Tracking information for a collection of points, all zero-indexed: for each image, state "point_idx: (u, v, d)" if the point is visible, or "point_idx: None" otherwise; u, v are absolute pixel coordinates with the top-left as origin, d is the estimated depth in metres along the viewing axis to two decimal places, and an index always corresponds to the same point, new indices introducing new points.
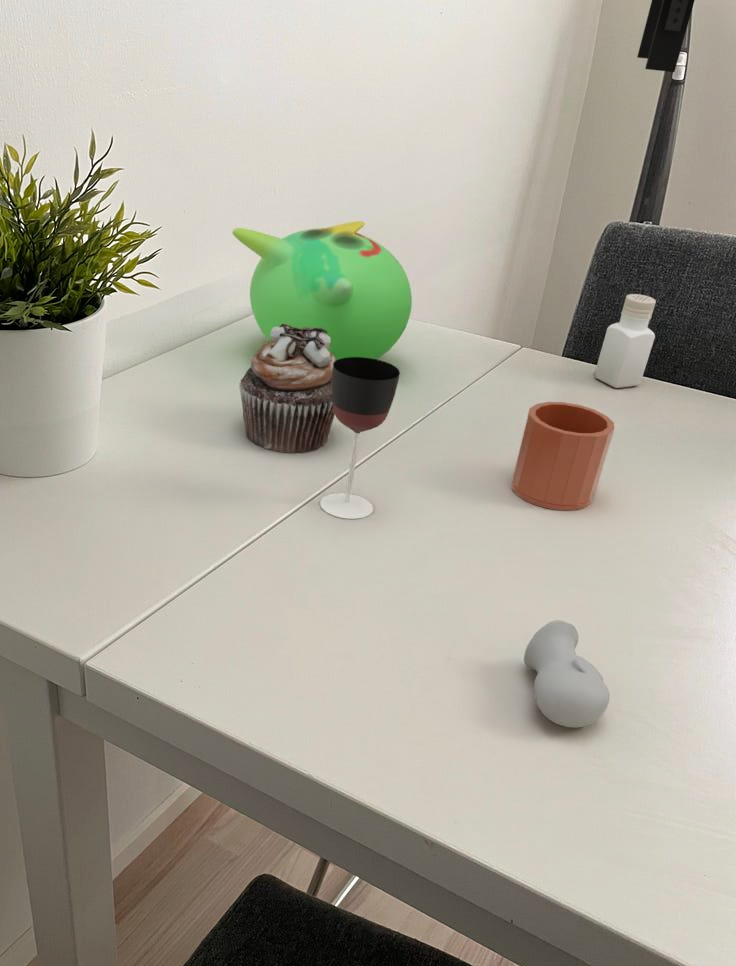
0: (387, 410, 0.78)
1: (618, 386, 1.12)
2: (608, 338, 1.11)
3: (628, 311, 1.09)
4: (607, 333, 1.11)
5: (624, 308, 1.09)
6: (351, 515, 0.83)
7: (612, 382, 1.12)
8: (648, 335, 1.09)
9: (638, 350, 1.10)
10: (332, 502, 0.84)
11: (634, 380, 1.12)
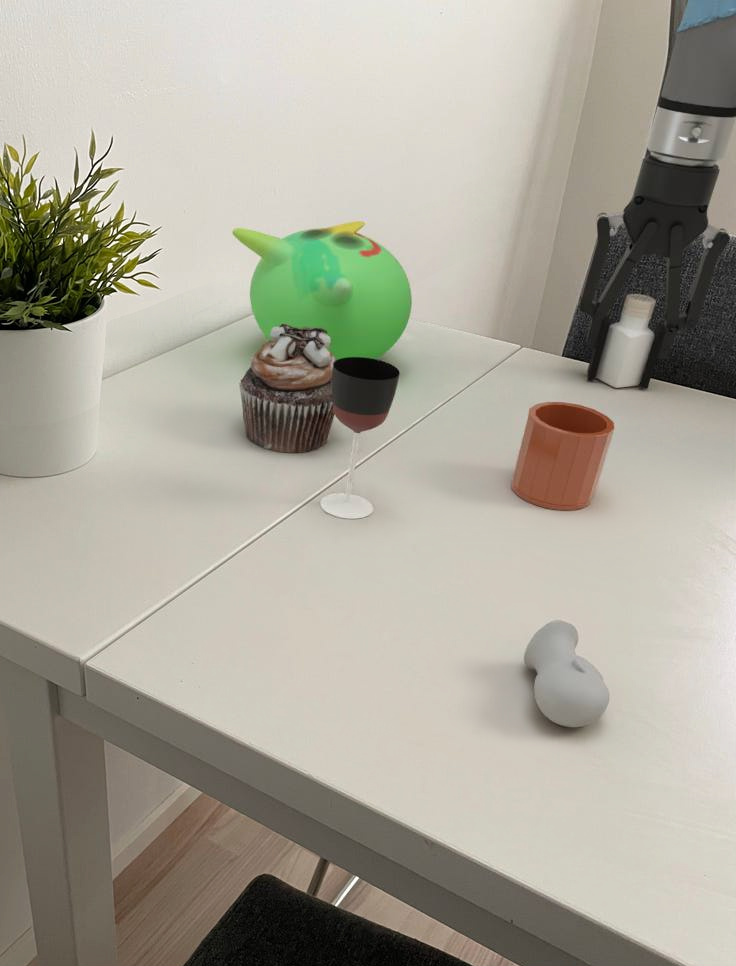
0: (387, 410, 0.78)
1: (618, 386, 1.12)
2: (608, 338, 1.11)
3: (628, 311, 1.09)
4: None
5: (624, 308, 1.09)
6: (351, 515, 0.83)
7: (612, 382, 1.12)
8: (648, 335, 1.09)
9: (638, 350, 1.10)
10: (332, 502, 0.84)
11: (634, 380, 1.12)
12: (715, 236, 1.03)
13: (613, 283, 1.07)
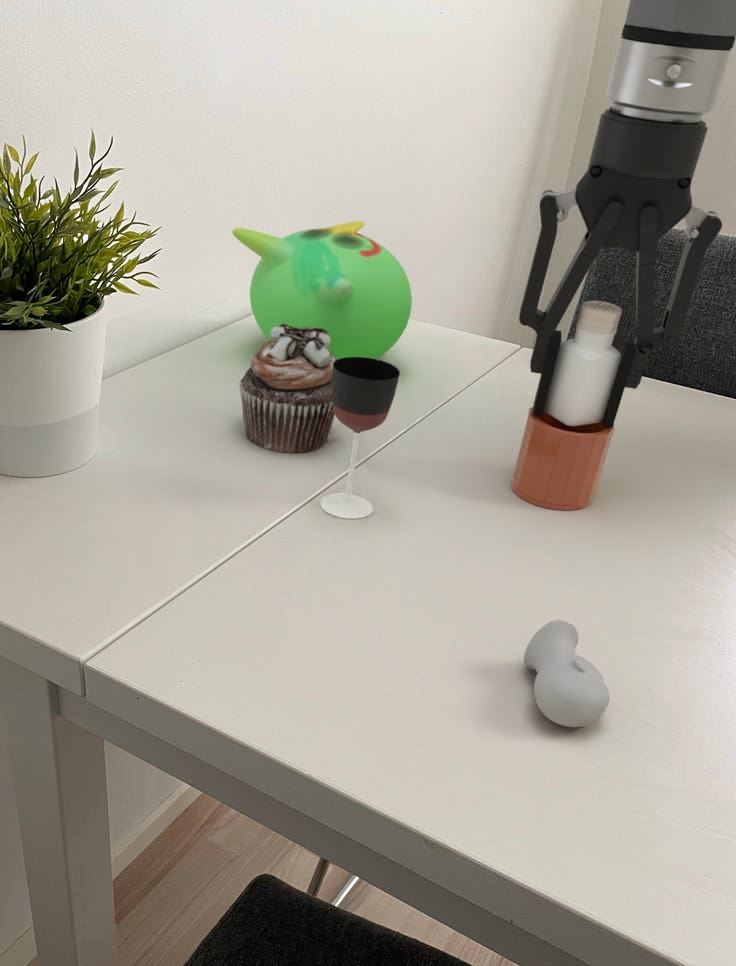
0: (387, 410, 0.78)
1: (573, 424, 0.83)
2: (559, 360, 0.83)
3: (585, 324, 0.80)
4: (558, 353, 0.83)
5: (579, 320, 0.81)
6: (351, 515, 0.83)
7: (565, 419, 0.84)
8: (612, 356, 0.81)
9: (599, 377, 0.81)
10: (332, 502, 0.84)
11: (595, 416, 0.84)
12: (702, 222, 0.75)
13: (564, 286, 0.79)
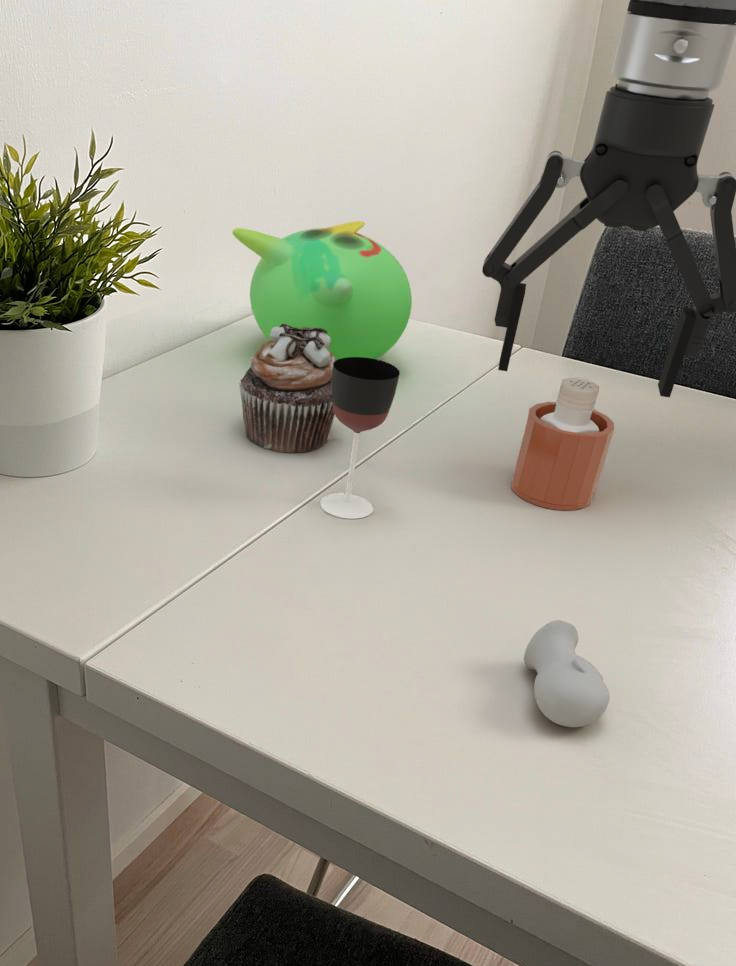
0: (387, 410, 0.78)
1: None
2: None
3: (564, 401, 0.84)
4: None
5: (559, 396, 0.84)
6: (351, 515, 0.83)
7: None
8: (590, 431, 0.85)
9: None
10: (332, 502, 0.84)
11: None
12: (716, 186, 0.73)
13: (543, 245, 0.78)
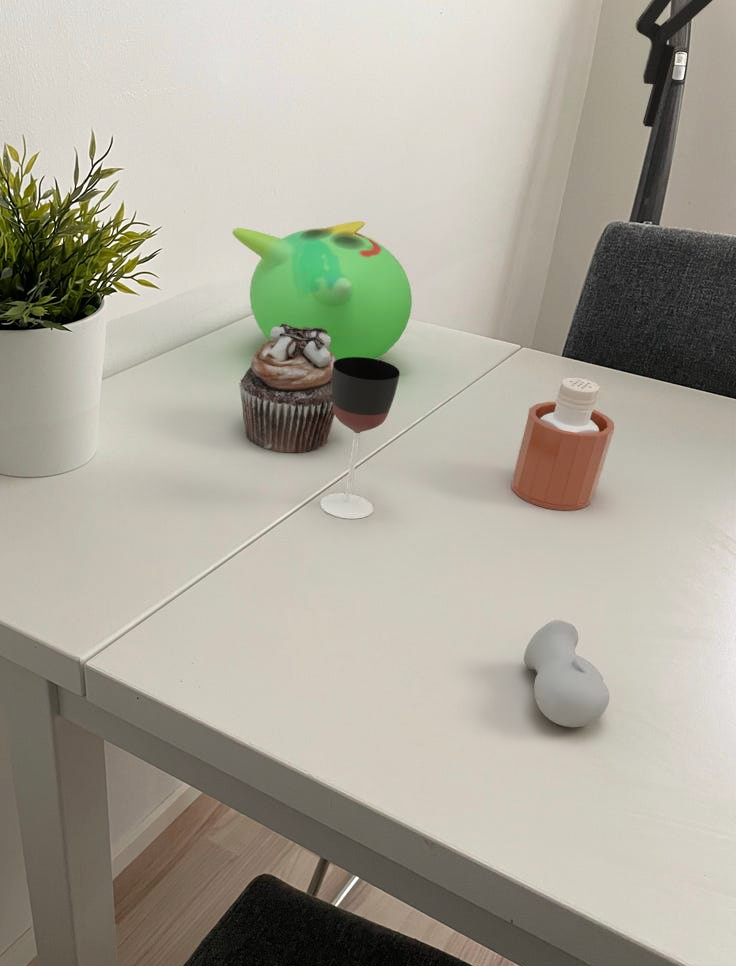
0: (387, 410, 0.78)
1: None
2: None
3: (564, 401, 0.84)
4: None
5: (559, 396, 0.84)
6: (351, 515, 0.83)
7: None
8: (590, 431, 0.85)
9: None
10: (332, 502, 0.84)
11: None
12: None
13: None
